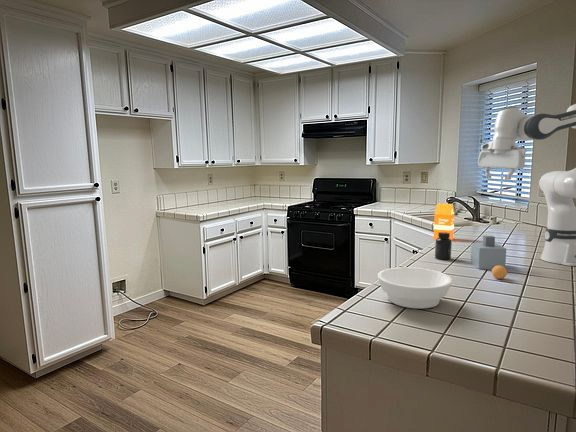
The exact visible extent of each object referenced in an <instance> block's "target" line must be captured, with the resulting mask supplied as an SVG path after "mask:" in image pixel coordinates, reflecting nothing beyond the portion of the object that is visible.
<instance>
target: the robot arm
mask: <svg viewBox="0 0 576 432" xmlns="http://www.w3.org/2000/svg"><path fill="white" fill-rule="evenodd" d="M493 127H494V128H493V129H494V134H493V137H492V140H491V141H489V142H485V143H483V144H482V145H480V152H479V155H478V159H477V166H478V167H479V168H484V172H485V173H484V174H485V178H486V179H491V178H492V173H491V172H490V171H491V170H492V169H508V173H507V174H505V176H504V180H509V181H511V180H512V176H513V175H514V174H515V173H516V170H524V168H525V166H526V165H525V164H526V152H527V150H526V148H525V146H521V145H520V146H516V143H517V140H518V141H521V142H522V141H523V142H524V141H533V140H539V141H540V140H545V139H548V138H550V137H551V136H553V134H555V133H557V132H558V131H560V130H564V129H569V128H572V129H576V103H574V104H572V105H570V106H569V107H568V108H567V110H566V111H565V112H560V113H557V114H549V113H539V114H535V115H532V116H530V115H528V114H526V113H524V112H523V111H522V110H521V109H520V108H519V107H518V106H511V107H505V108H501V109H500V110H499V111H498V112H497V113H496V118H495V122H494V126H493ZM538 187H539V189H540V190H541V191H542V193H543V195H544V198H545V202H546V206H547V220H546V221H547V222H546V227H545V231H544V233H545V234H544V246H543V250H542V253H541V255H540V259H541V260H542V261H545V262H548V263H552V264H557V265H558V264H559V265H565V266H568V267H576V206H575V205H576V204H575V203H574V199H576V167H574V168H573V169H571V170H565V171H564V170H553V171H549V172H547V173H544V174H543V175H542V176H541V177H540V179H539V181H538Z"/></svg>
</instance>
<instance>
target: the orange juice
mask: <svg viewBox="0 0 576 432" xmlns="http://www.w3.org/2000/svg"><path fill="white" fill-rule="evenodd" d="M433 223H434V225H433V240H434V241H436V239H437V238H439V237H438V232H448V233H450V237H449V238H450V239H451V241H452V240H454V234H455V233H454V231H455V210H454V204H452V203H450V204H449V203H437V204H436V206H435V210H434V221H433Z"/></svg>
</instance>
